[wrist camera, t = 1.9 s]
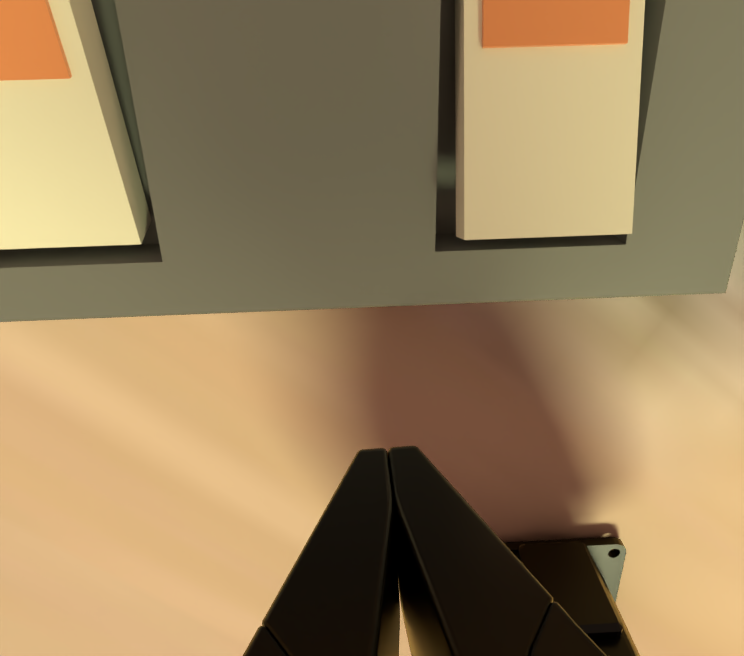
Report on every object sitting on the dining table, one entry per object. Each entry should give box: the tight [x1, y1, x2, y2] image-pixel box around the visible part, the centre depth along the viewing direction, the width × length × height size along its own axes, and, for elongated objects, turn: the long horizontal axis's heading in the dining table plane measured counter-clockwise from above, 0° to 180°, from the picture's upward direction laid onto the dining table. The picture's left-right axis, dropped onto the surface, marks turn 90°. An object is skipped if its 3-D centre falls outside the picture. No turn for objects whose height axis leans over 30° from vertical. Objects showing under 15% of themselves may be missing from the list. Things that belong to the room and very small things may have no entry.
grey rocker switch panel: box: [0, 0, 744, 322], centre depth 16 cm, size 10×23×4 cm, turn 91°
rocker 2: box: [455, 0, 645, 240], centre depth 15 cm, size 6×4×1 cm, turn 1°
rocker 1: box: [0, 0, 151, 250], centre depth 14 cm, size 6×4×1 cm, turn 2°
